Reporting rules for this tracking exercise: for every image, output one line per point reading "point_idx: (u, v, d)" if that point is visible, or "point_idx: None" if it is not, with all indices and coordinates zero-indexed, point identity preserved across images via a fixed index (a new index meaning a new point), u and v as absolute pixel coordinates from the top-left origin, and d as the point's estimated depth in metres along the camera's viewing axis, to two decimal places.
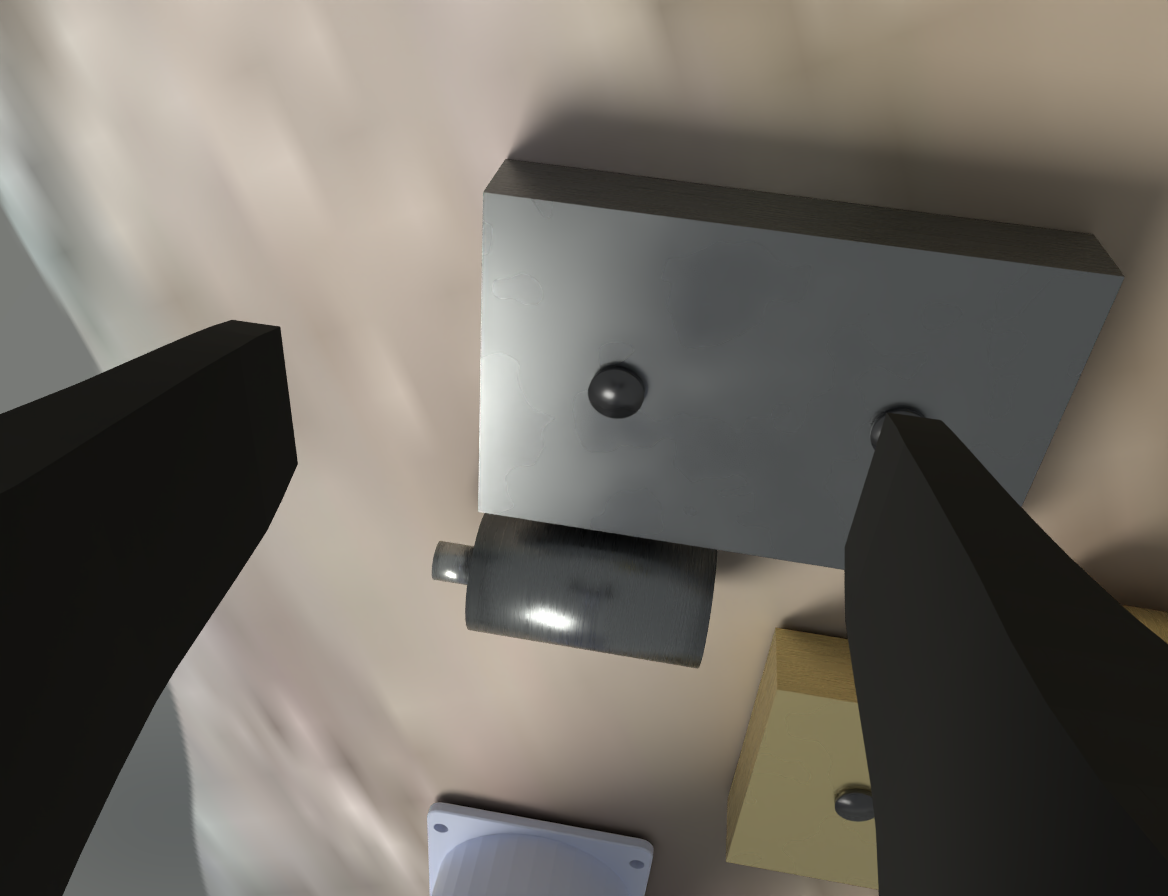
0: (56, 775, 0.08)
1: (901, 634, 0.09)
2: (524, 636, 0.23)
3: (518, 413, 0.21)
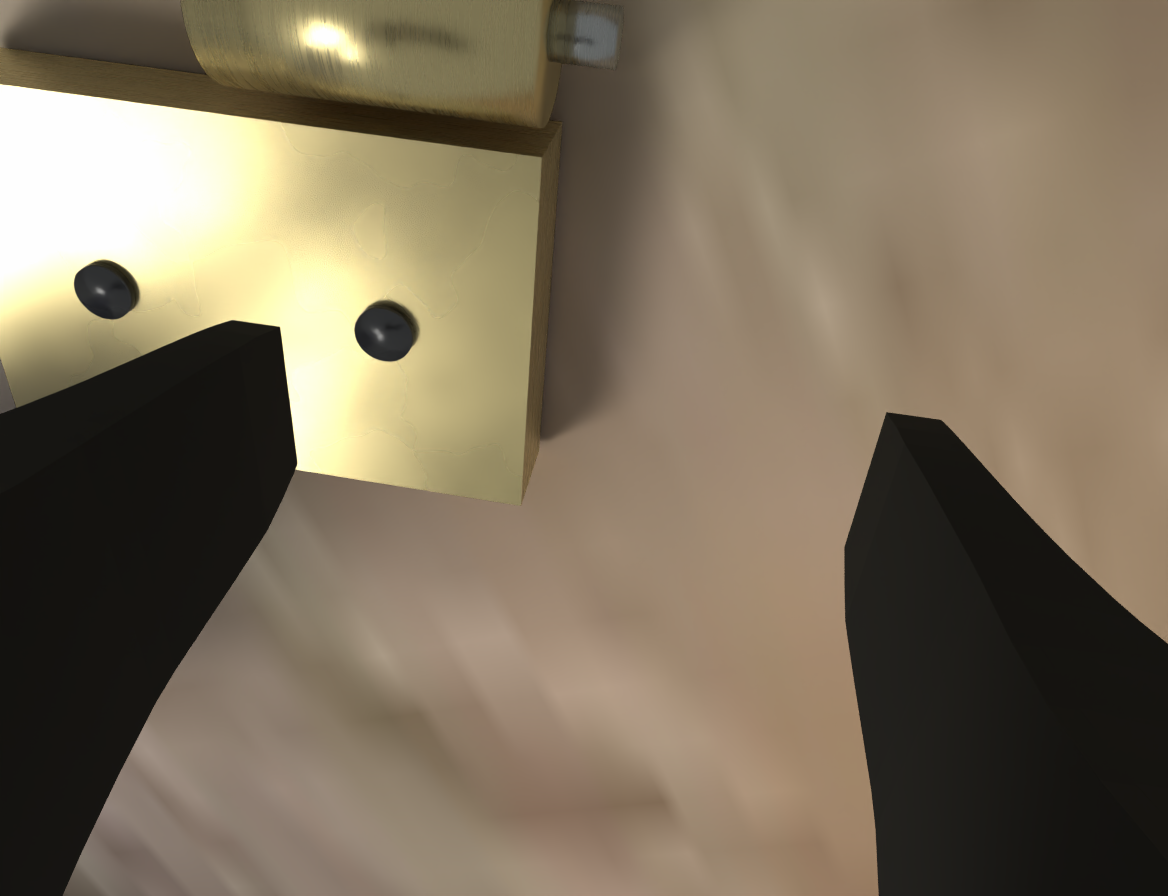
0: (56, 775, 0.08)
1: (901, 634, 0.09)
2: None
3: None
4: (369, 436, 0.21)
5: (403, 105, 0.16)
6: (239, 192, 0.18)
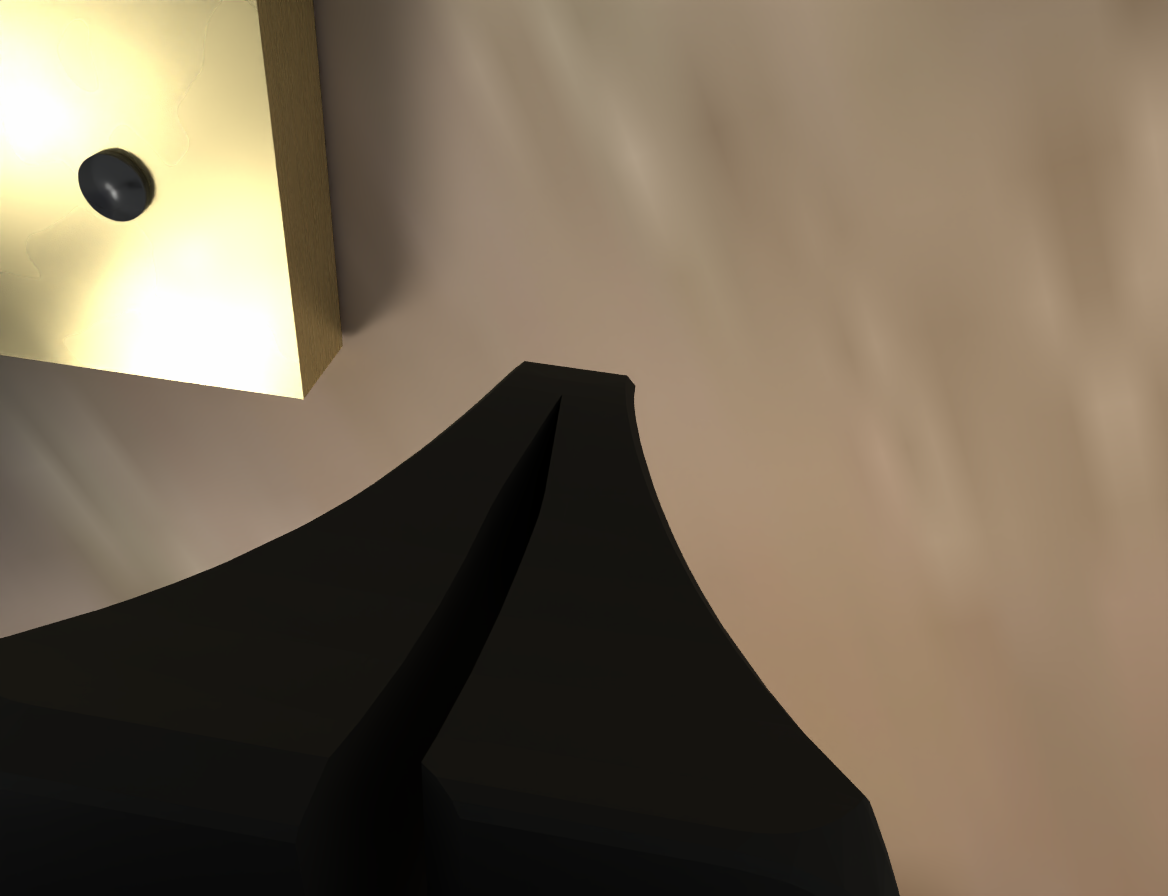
0: None
1: None
2: None
3: None
4: (124, 318, 0.18)
5: None
6: None
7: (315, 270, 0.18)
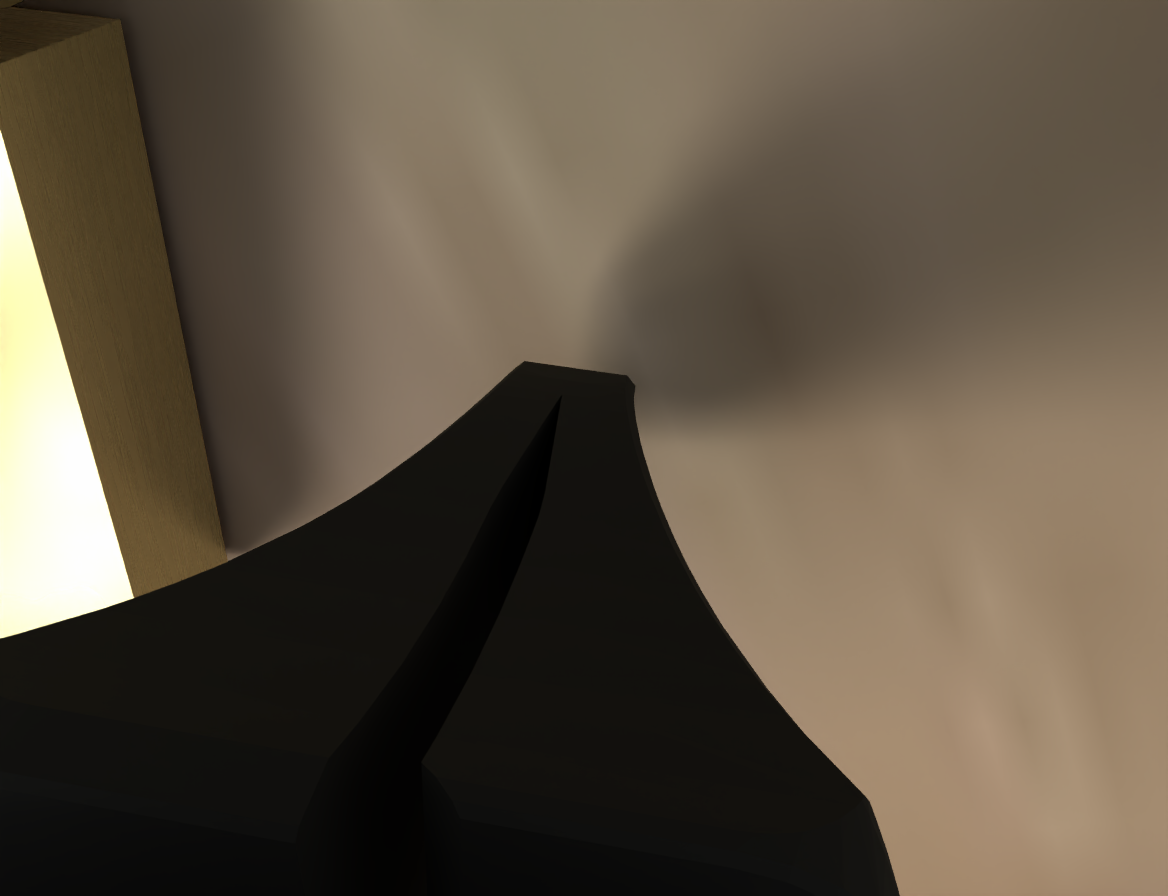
0: None
1: None
2: None
3: None
4: None
5: None
6: None
7: (170, 498, 0.13)
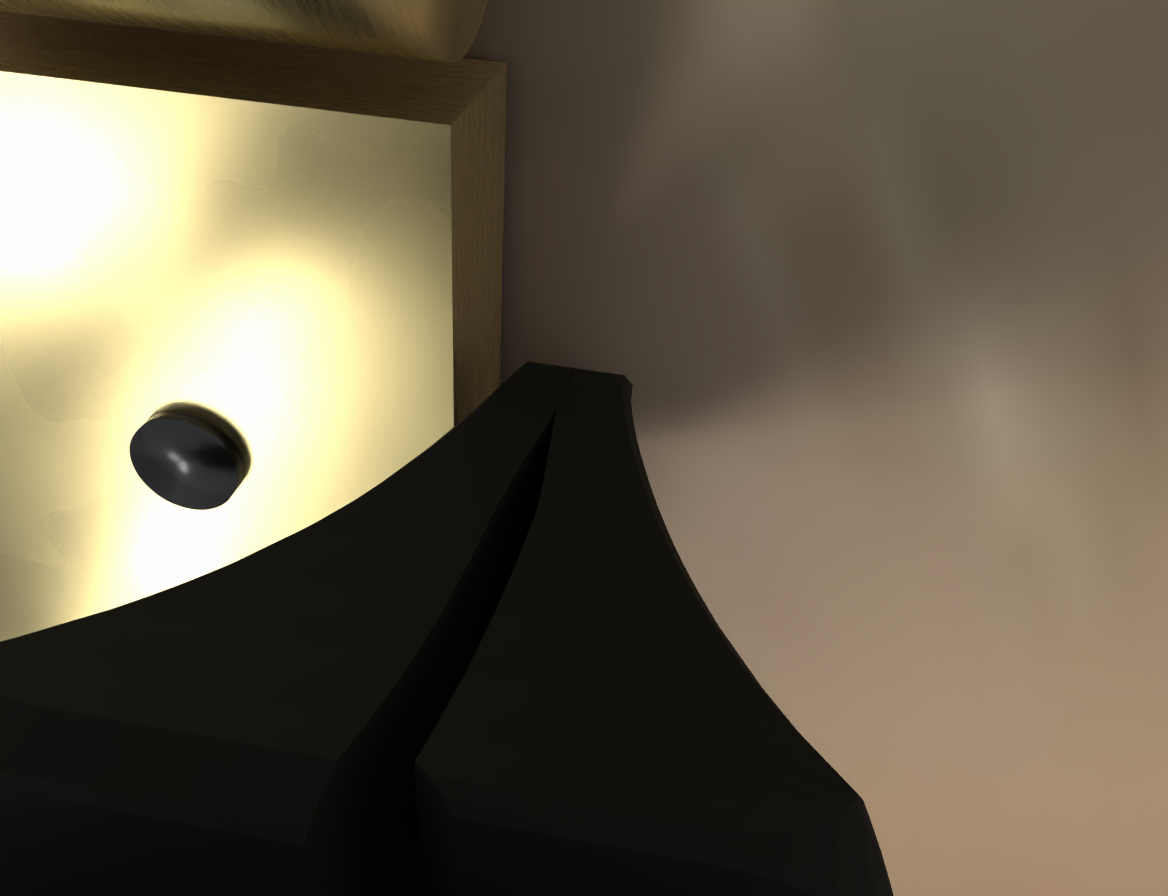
0: None
1: None
2: None
3: None
4: None
5: (142, 14, 0.07)
6: None
7: None
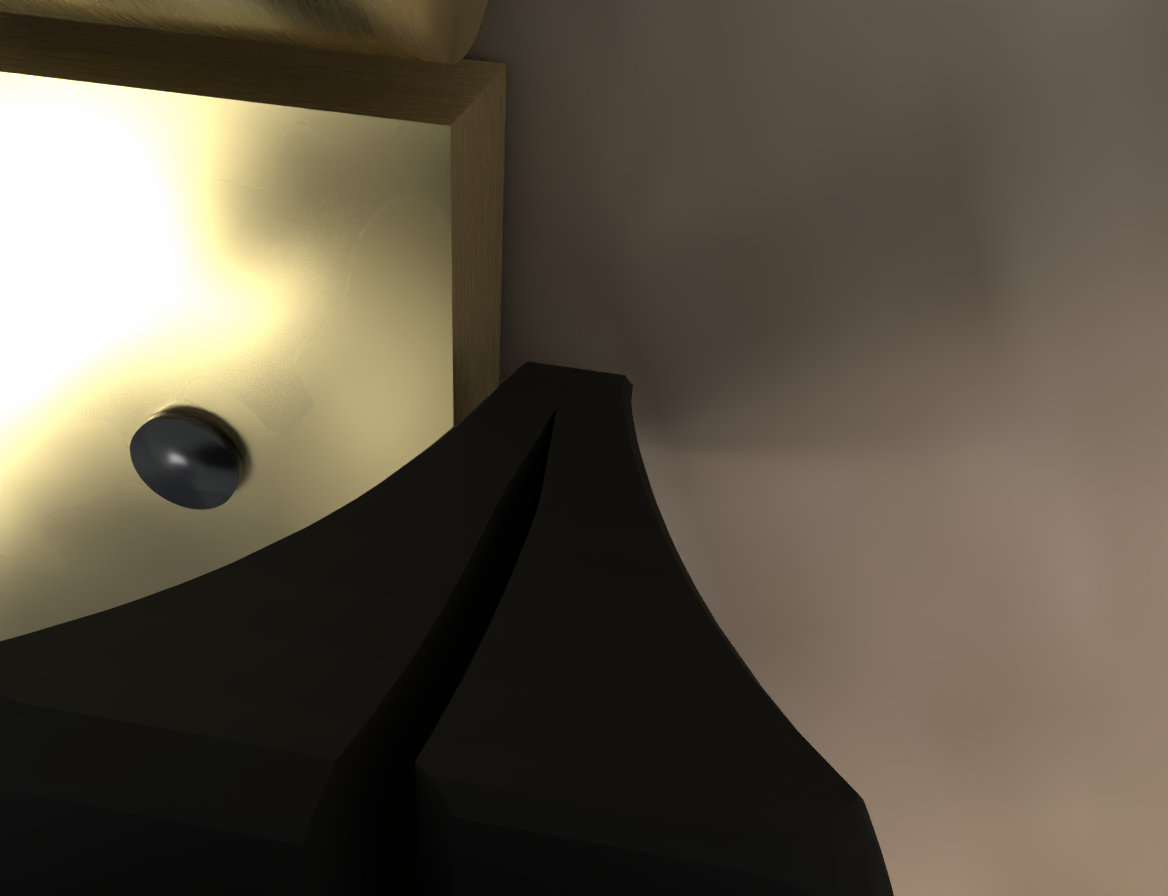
0: None
1: None
2: None
3: None
4: None
5: (143, 15, 0.08)
6: None
7: None
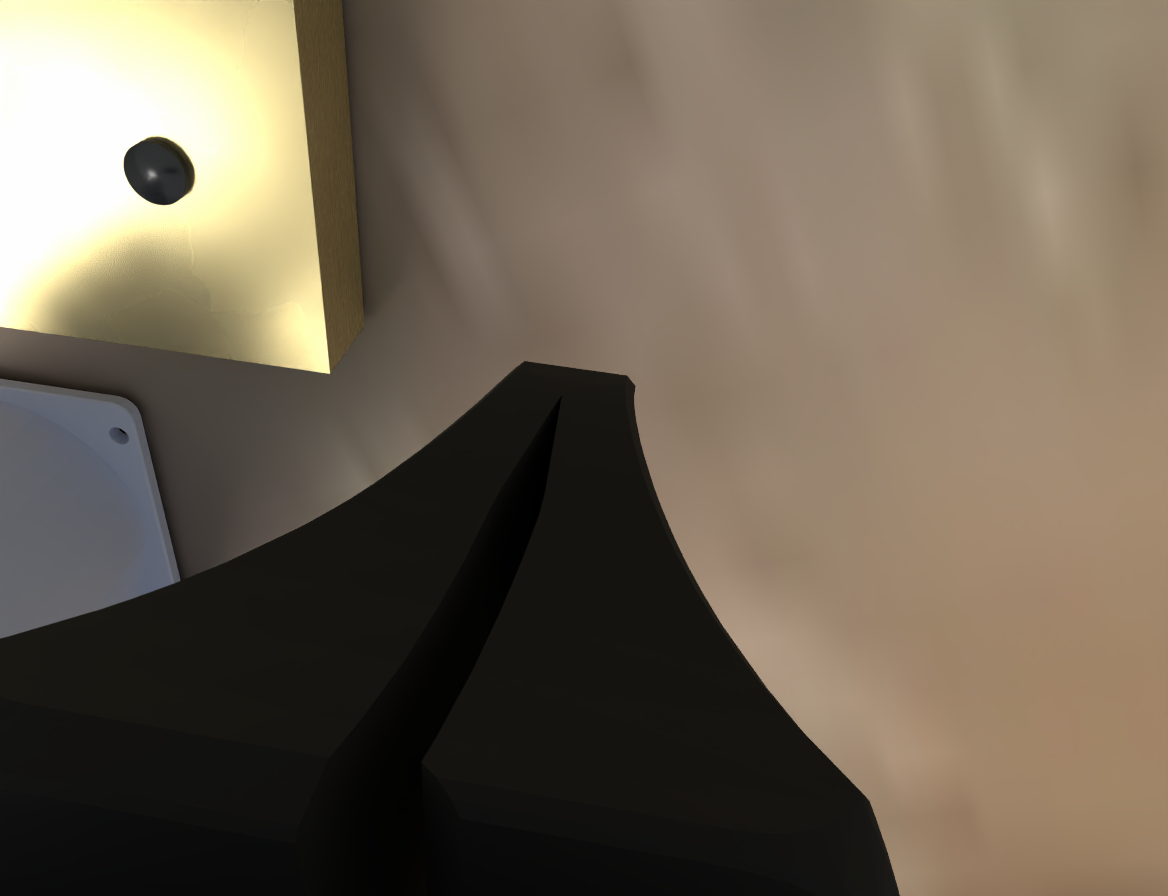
0: None
1: None
2: None
3: None
4: (162, 297, 0.20)
5: None
6: None
7: (341, 252, 0.20)
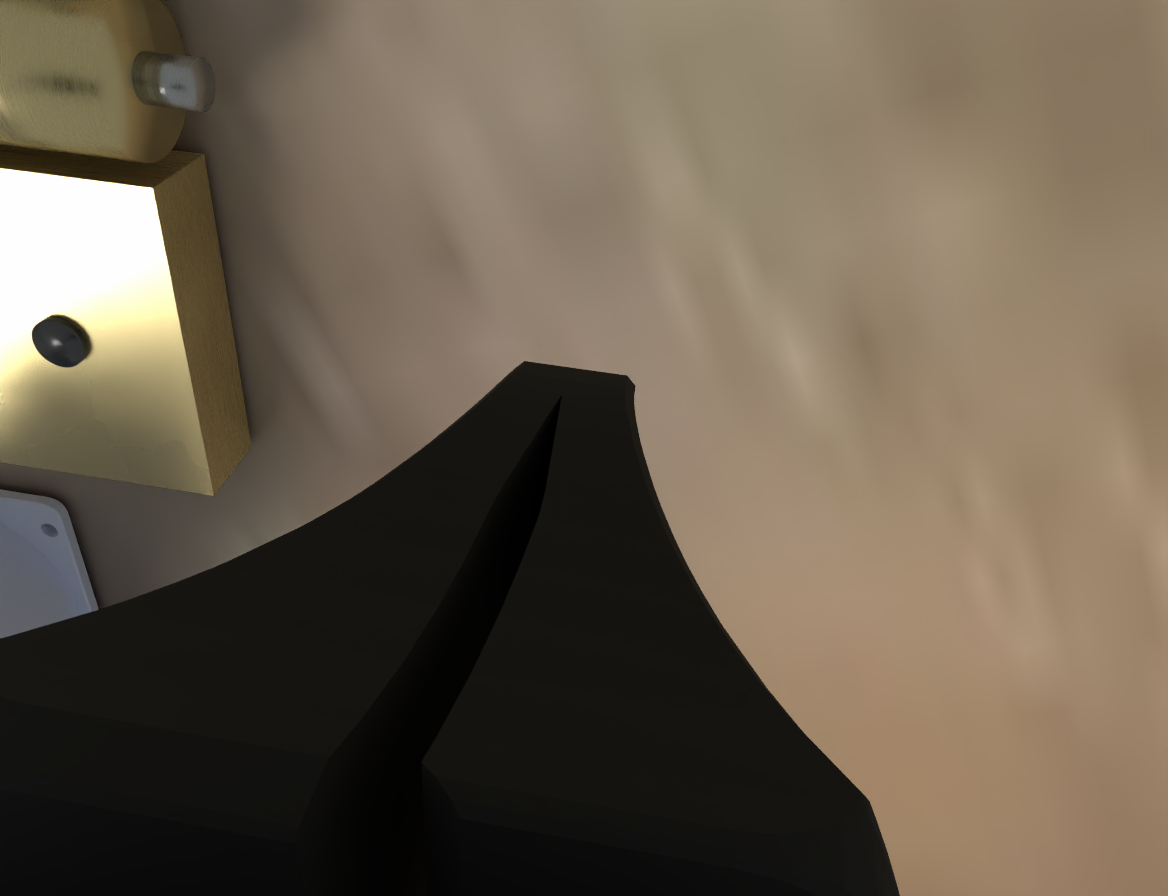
0: None
1: None
2: None
3: None
4: (71, 434, 0.23)
5: (22, 144, 0.19)
6: None
7: (221, 396, 0.23)
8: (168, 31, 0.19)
